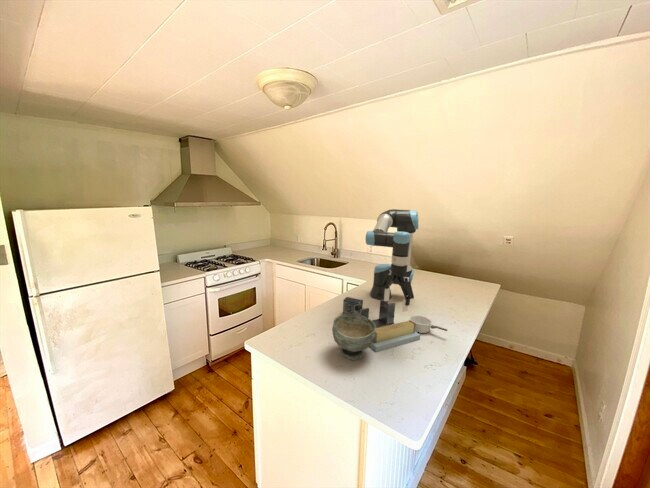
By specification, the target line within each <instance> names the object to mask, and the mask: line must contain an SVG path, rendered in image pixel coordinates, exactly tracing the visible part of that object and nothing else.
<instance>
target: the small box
mask: <svg viewBox="0 0 650 488" xmlns="http://www.w3.org/2000/svg"><path fill="white" fill-rule="evenodd" d="M356 304H364V300H363V299H359V298H354V297H348V296H346V297H345V298H344V299H343V303H342V315H353V314H354V305H356Z"/></svg>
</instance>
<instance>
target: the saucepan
mask: <svg viewBox="0 0 650 488" xmlns="http://www.w3.org/2000/svg"><path fill="white" fill-rule="evenodd" d="M409 320H411V321H412V322H414V323H416V327H415V332H417V333H418V332H419V333H418V334H425V333H429V332H430V331H431V329H439V330H442V331H445V332H448V329H447V328H444V327H442V326H438V325H434V324H432V323H433V321H432V320H431V319H430V318H428V317H426V316H423V315H412V316H410V317H409Z"/></svg>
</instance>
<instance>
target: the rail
mask: <svg viewBox="0 0 650 488" xmlns="http://www.w3.org/2000/svg"><path fill="white" fill-rule="evenodd" d="M415 327H416V323H414V322H412V321H411V320H410V319H409V320H405V321H402V322H398V323H394V324H391V325H387V326H383V327H379V328H375V337H374V340H373V343H374V344H375V343H378V342H382V341H386V340H389V339H393V338H397V337H401V336H404V335H408V334H412V333H415V332H416V331H415Z"/></svg>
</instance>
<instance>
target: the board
mask: <svg viewBox="0 0 650 488" xmlns="http://www.w3.org/2000/svg"><path fill="white" fill-rule="evenodd" d="M419 339H420V340H421V333H418V332H416V331H415V333H412V334H408V335H404V336H401V337H397V338H393V339H389V340H386V341H382V342H378V343H375V344H374V343H372V344H371V345H370V346H369V347H370V349H372V350H373V351H375V353H377V352H381V351H384V350H388V349H391V348H392V349H393V348H394V347H398V346H402V345H406V344H408V343H412V342H416V341H419Z"/></svg>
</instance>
